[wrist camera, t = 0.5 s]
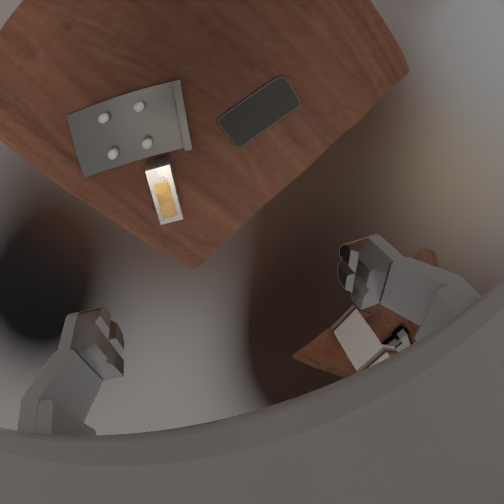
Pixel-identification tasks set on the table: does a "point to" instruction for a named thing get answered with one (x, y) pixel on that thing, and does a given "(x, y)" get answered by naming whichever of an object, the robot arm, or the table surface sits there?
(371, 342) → the white tower box
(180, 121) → the tray
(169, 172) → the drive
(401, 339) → the game console
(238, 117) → the smartphone
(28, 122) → the table surface
